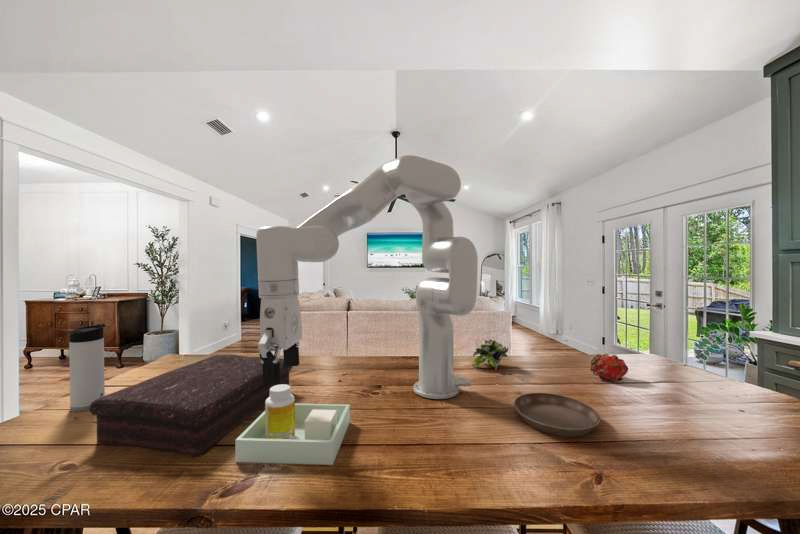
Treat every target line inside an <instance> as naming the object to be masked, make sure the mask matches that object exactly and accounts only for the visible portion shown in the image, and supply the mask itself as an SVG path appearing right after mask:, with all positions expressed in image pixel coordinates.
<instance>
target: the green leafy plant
mask: <svg viewBox="0 0 800 534" xmlns="http://www.w3.org/2000/svg"><path fill="white" fill-rule="evenodd" d="M479 346H480V347H475V348H474V349H475V351H473V354H472V357H475V359H474V360H473V361H472V367H473V368H475V367H476V366H477V367H479V366H483V365H484V364H485V363H487V362H488V364H489V365H491V366H492V367H494V368H495V369H494V372H496V370H497V368H498V366H499V364H500V362H501V359H502V358H503V357H505V358H506V357H508V354H507V353H508V352H509V347H507V346H505V345H504V346H503V344H502V343H499V342H498V341H496V340H495V339H494V340H493V339H488V340H487V339H485V340H484V343H480V344H479ZM476 356H477V357H476Z"/></svg>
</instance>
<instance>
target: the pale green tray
mask: <svg viewBox="0 0 800 534" xmlns="http://www.w3.org/2000/svg"><path fill="white" fill-rule="evenodd" d="M313 409H314V410H337V426H336V428H335V430H334V432H333V434H332V436H331V439H330V440H305V420H306V418H307V417H308V415H309V414H310V413H311V411H312V410H313ZM350 410H351V405H350V404H347V403H346V404H340V403H338V404H335V403H299V402H297V403H296V402H295V434H294V437H293V438H292V439H266V438H265V410H264V411H263V412H262V413H261V414H260V415H259V416H257V418H256V419H255V420H254V421H253V422H251V424H250V425H249V426H248V427H247V428H246V429H244V430H243V432H242V433H241V434H240V435H239V436H238V437H237V438H236V439H235V442H234V443H235V448H234V449H235V453H234V454H235V455H234V456H235V463H253V464H254V463H255V464H257V463H258V464H287V465H288V464H289V465H290V464H293V465H294V464H295V465H326V466H327V465H329V466H333V465H334V463H335V460H336V458H337V456H338V453H339V449H340V448H341V446H342V442H343V440H344V438H345V435H346V433H347V430H348V427H349V425H350V423H351V415H350V414H351V411H350Z"/></svg>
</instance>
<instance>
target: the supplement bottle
mask: <svg viewBox="0 0 800 534" xmlns="http://www.w3.org/2000/svg"><path fill="white" fill-rule="evenodd" d="M269 395H270V396H269V397H268V398H267V399H266V401H265V407H264V411H265V438H266V439H292V438H293V437H294V434H295V403H296V401H295V400H296V399H295V396H294V394H292V391H291V386H290V384H289V385H286V384H281V385H275V386H273V387H271V388H270V394H269Z"/></svg>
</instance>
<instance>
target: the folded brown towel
mask: <svg viewBox="0 0 800 534" xmlns="http://www.w3.org/2000/svg"><path fill="white" fill-rule="evenodd" d="M278 362H280V364H281V383H280V384H264V383H263V368H262V363H261V358H260V356H245V355H238V354H215V355H212V356H209V357H207V358H204V359H202V360H199V361H196V362H194V363H191V364H188V365H185V366H181V367H178V368H175V369H173V370H169V371H166V372H163V373H162V374H159V375H157V376H154V377H151V378H149V379H147V380H144V381H141V382H138V383H135V384H134V385H130V386H128V387H125V388H122V389H120V390H117V391H114V392H112V393H109V394H105V396H103V397H100V398H98V399H96V400H95V401H93V402H92V403H91V405H90V407H89V409H90V410H89V412H90V414H91V415H93V416H96V443H97V444H98V445H105V446H116V447H117V446H121V447H128V446H129V447H130V448H136V447H138V448H137V449H146V450H153V451H156V452H157V451H158V452H166V453H171V454H173V455H174V454H175V455H179V456H184V457H189V458H199V457H202V456H204V455H205V454H207V453H208V452H209V451H211V450H212V449H213V448H214V447H215V446H216V445H217V444H218V443H220V441H222V440H223V439H224V438H225V437H226V436H227V435H228V434H229V433H231V432H233V430H234V429H236V428H237V427H239V426H240V425H241V424H242V423H244V422H245V421H247V419H249V418H250V417H252V416H253V415H255V414H256V413H257V412H259V411H260V410H262V409H263V408H265V401H266V399H267V398H268V397H269V396H270V395H269V394H270V388H271V387H273V386H275V385H281V384H286V385H289V386H290V371H292V369H293V367H294V366H284V358H280V357H279V360H278ZM210 449H211V450H210Z"/></svg>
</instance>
